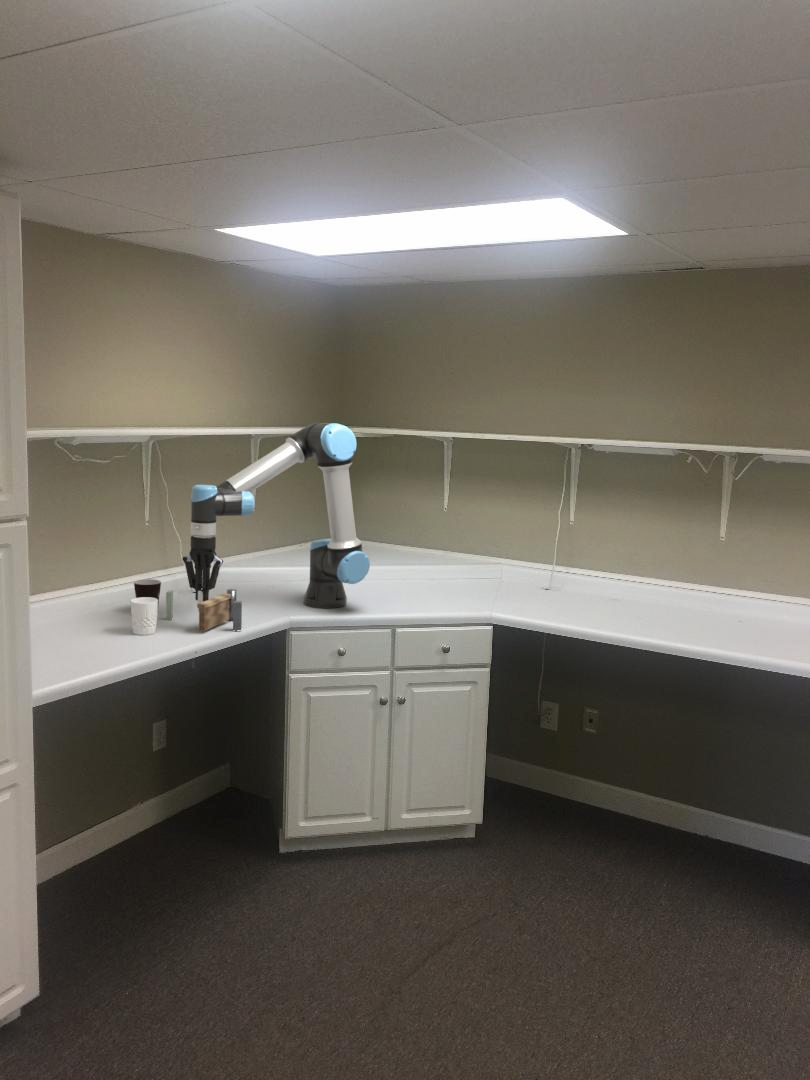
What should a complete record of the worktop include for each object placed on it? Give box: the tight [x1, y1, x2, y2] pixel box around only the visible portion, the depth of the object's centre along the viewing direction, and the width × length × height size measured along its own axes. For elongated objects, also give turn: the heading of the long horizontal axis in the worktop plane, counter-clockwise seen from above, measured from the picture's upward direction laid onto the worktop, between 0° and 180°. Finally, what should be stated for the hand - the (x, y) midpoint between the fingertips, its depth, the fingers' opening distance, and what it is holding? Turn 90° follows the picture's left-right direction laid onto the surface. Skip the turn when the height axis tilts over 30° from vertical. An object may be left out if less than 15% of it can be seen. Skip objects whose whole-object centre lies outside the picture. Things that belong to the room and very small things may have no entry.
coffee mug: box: [133, 578, 162, 605], centre depth 286 cm, size 12×9×10 cm
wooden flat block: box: [196, 593, 231, 631], centre depth 269 cm, size 16×2×8 cm, turn 162°
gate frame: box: [165, 588, 243, 631], centre depth 272 cm, size 25×15×10 cm, turn 95°
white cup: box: [130, 597, 159, 636], centre depth 260 cm, size 8×8×10 cm
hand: (201, 611), depth 267 cm, fingers closed
